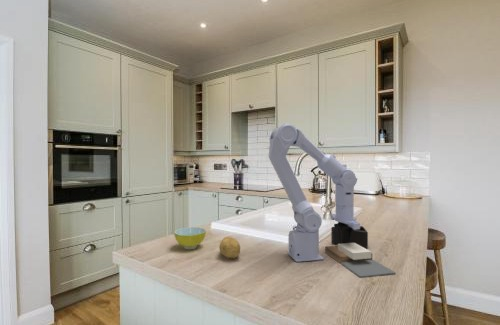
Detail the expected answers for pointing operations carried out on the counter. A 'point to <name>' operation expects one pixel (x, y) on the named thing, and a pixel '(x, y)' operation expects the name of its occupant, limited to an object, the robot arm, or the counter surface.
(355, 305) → the counter surface
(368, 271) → the mat
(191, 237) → the bowl
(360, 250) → the cream rectangular tile
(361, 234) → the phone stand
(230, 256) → the potato
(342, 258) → the brown block
